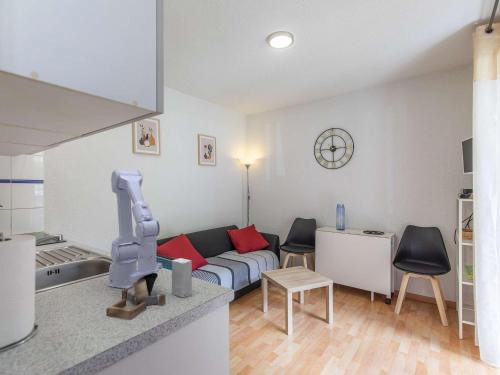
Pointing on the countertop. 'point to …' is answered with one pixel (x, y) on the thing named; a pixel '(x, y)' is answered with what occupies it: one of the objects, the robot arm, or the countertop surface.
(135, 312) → the bay
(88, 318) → the countertop surface
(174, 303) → the countertop surface
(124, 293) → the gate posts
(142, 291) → the peg
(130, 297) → the flap left
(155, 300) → the flap right
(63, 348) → the countertop surface
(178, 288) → the skincare box
